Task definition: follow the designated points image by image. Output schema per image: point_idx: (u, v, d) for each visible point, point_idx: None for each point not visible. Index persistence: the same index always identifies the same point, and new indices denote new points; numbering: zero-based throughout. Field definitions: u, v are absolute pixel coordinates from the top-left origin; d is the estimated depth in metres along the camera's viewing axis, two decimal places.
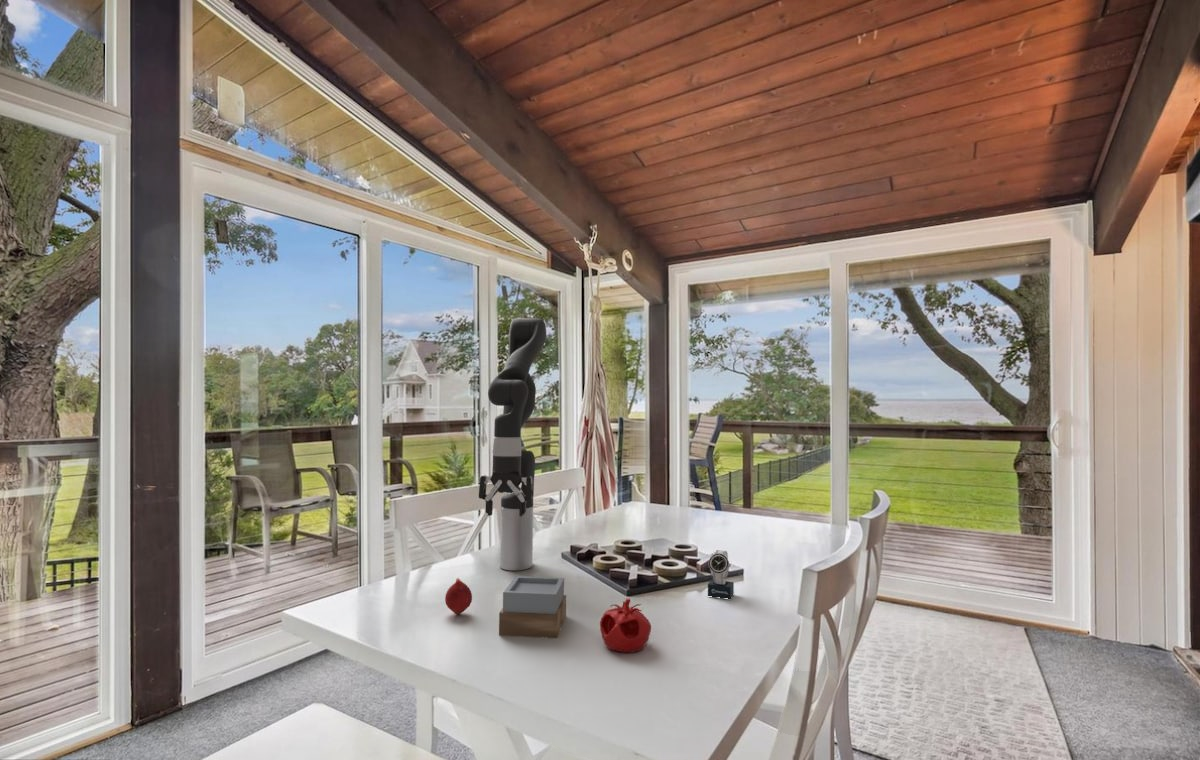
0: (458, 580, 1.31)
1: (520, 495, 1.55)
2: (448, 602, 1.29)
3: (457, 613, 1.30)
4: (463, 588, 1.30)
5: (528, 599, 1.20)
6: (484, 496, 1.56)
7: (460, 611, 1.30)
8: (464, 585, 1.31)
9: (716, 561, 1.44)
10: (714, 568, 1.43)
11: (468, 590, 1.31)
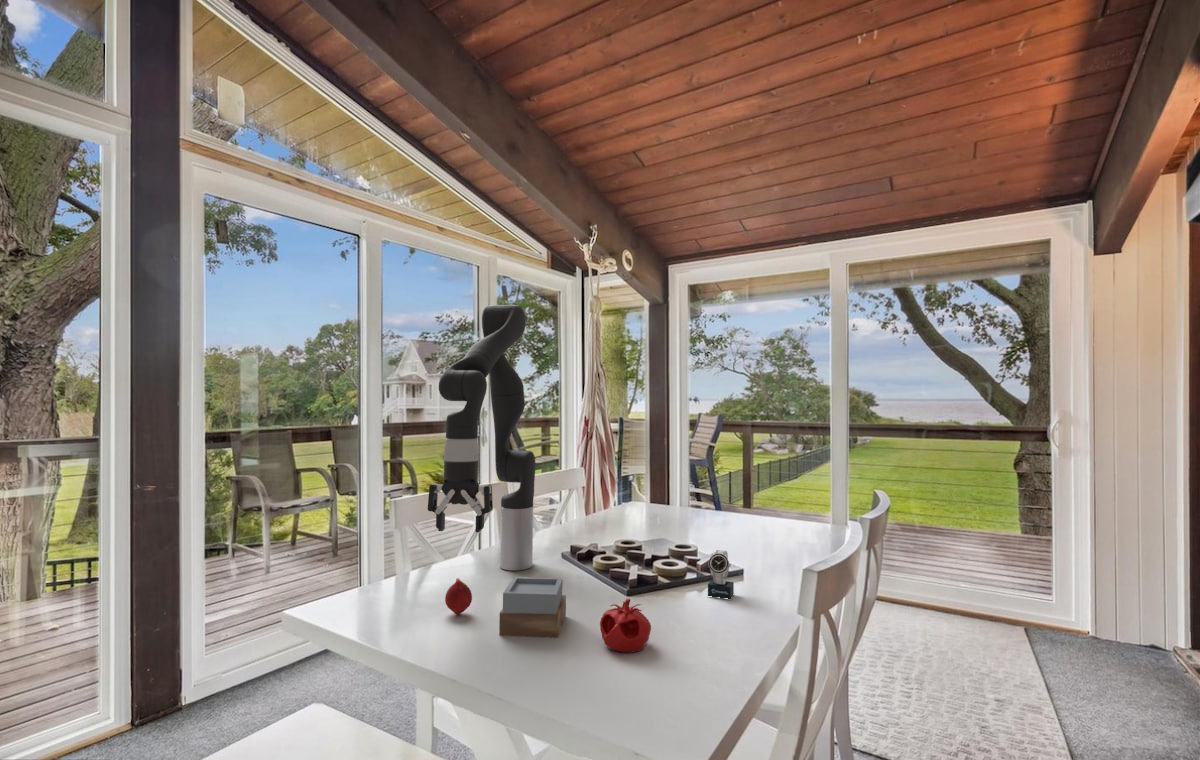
0: (458, 580, 1.31)
1: (476, 507, 1.30)
2: (448, 602, 1.29)
3: (457, 613, 1.30)
4: (463, 588, 1.30)
5: (528, 599, 1.20)
6: (434, 508, 1.32)
7: (460, 611, 1.30)
8: (464, 585, 1.31)
9: (716, 561, 1.44)
10: (714, 568, 1.43)
11: (468, 590, 1.31)
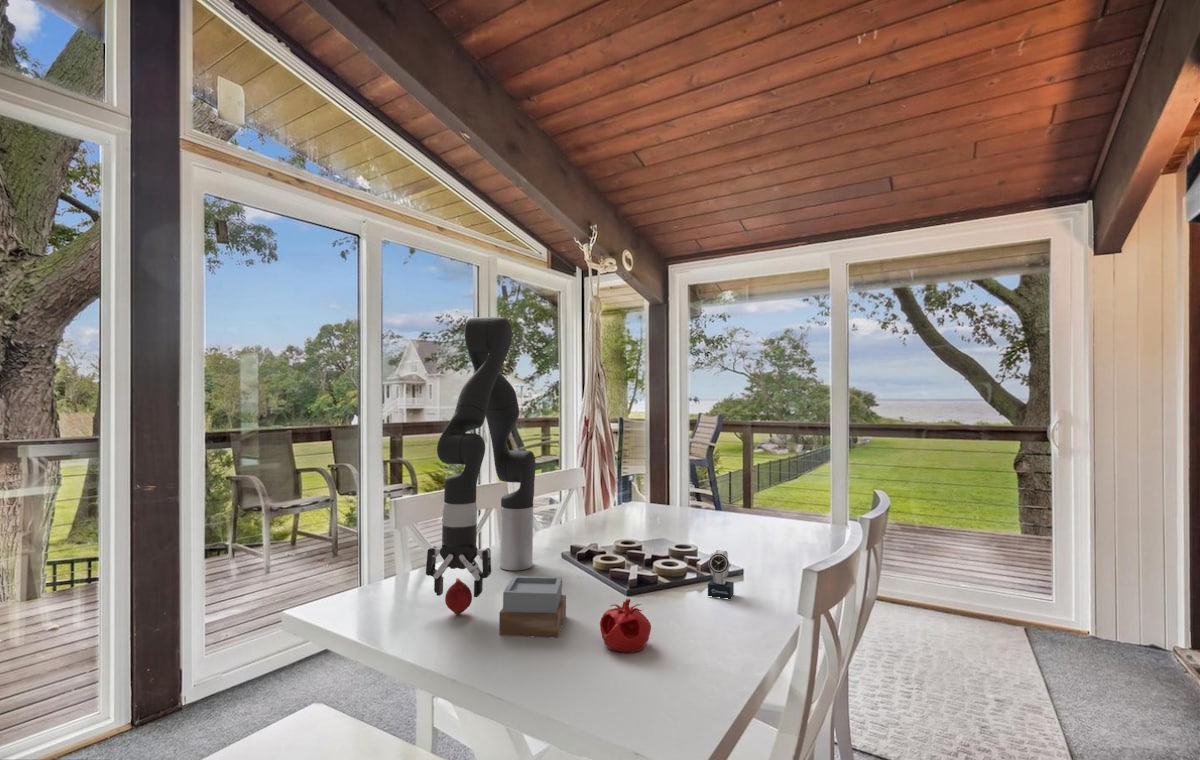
0: (458, 580, 1.31)
1: (475, 572, 1.30)
2: (448, 602, 1.29)
3: (457, 613, 1.30)
4: (463, 588, 1.30)
5: (528, 598, 1.20)
6: (432, 572, 1.31)
7: (460, 611, 1.30)
8: (464, 585, 1.31)
9: (716, 561, 1.44)
10: (714, 568, 1.43)
11: (468, 590, 1.31)
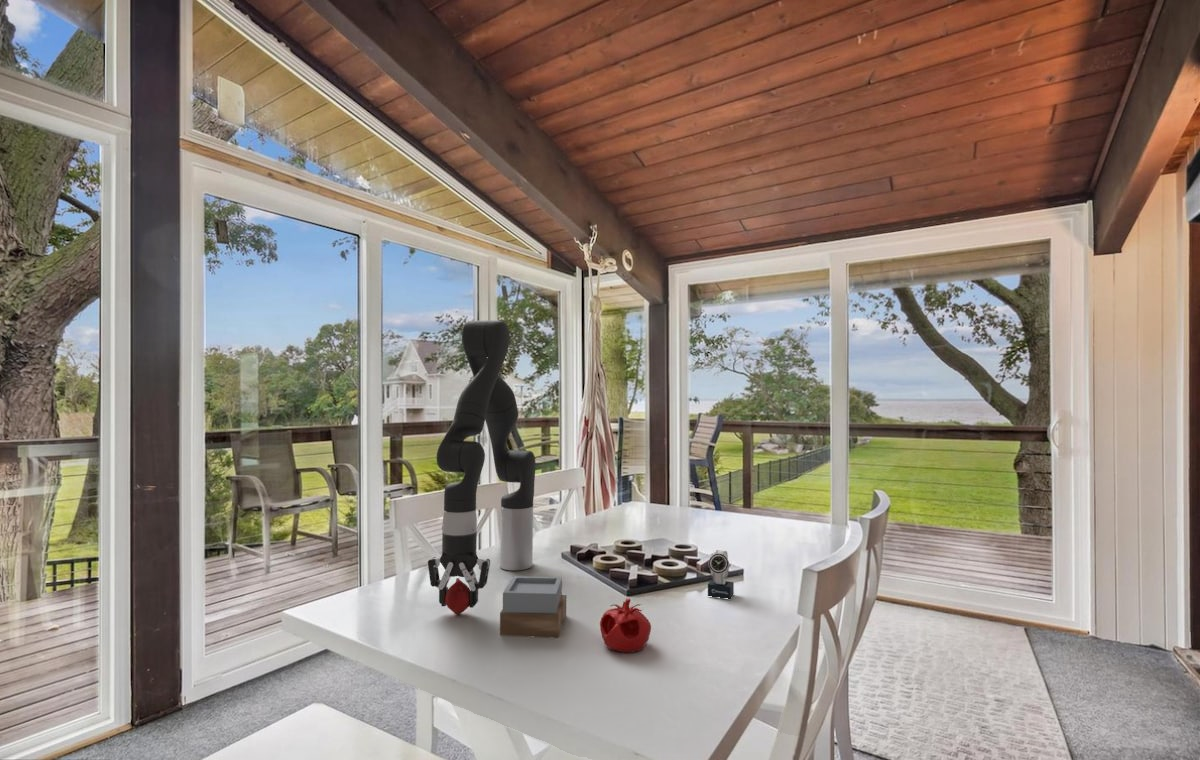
0: (458, 580, 1.31)
1: (471, 582, 1.30)
2: (448, 602, 1.29)
3: (457, 613, 1.30)
4: (463, 588, 1.30)
5: (528, 599, 1.20)
6: (437, 583, 1.31)
7: (460, 611, 1.30)
8: (464, 585, 1.31)
9: (716, 561, 1.44)
10: (714, 568, 1.43)
11: (468, 590, 1.31)
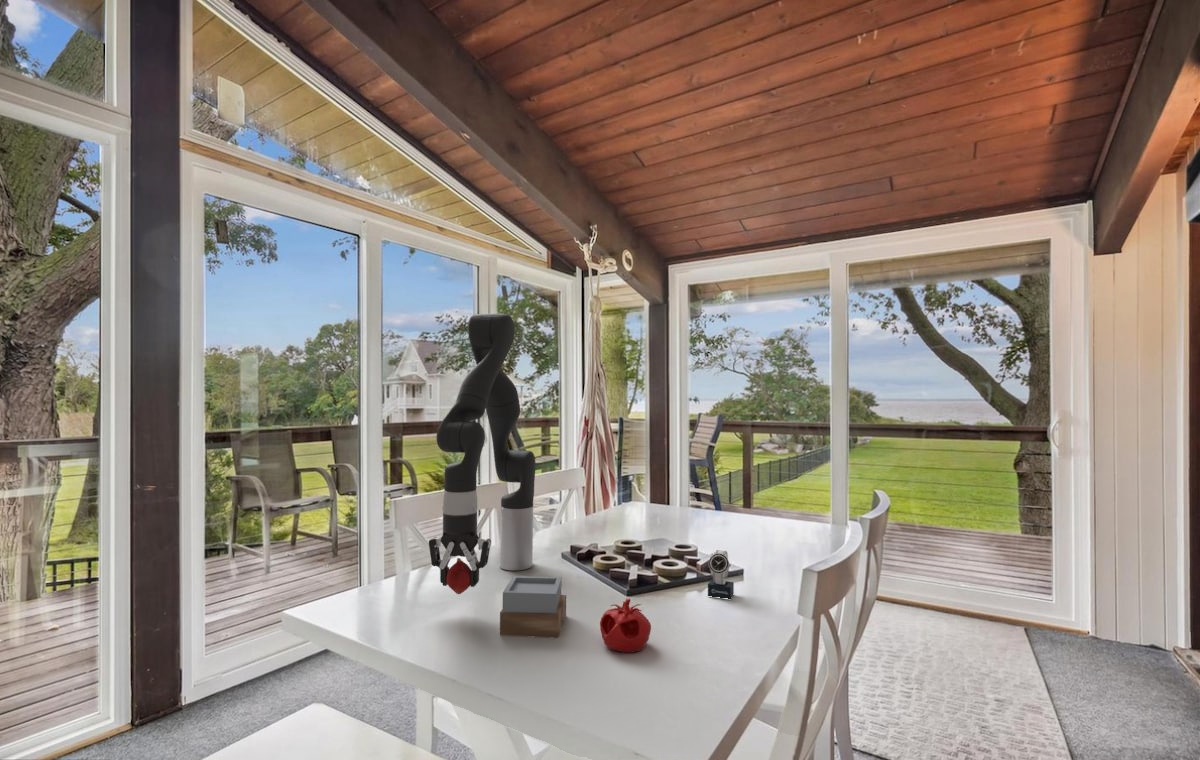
0: (459, 560, 1.32)
1: (472, 562, 1.30)
2: (449, 581, 1.29)
3: (458, 592, 1.31)
4: (464, 568, 1.31)
5: (528, 598, 1.20)
6: (438, 563, 1.32)
7: (461, 590, 1.30)
8: (465, 565, 1.31)
9: (716, 561, 1.44)
10: (714, 568, 1.43)
11: (469, 570, 1.31)
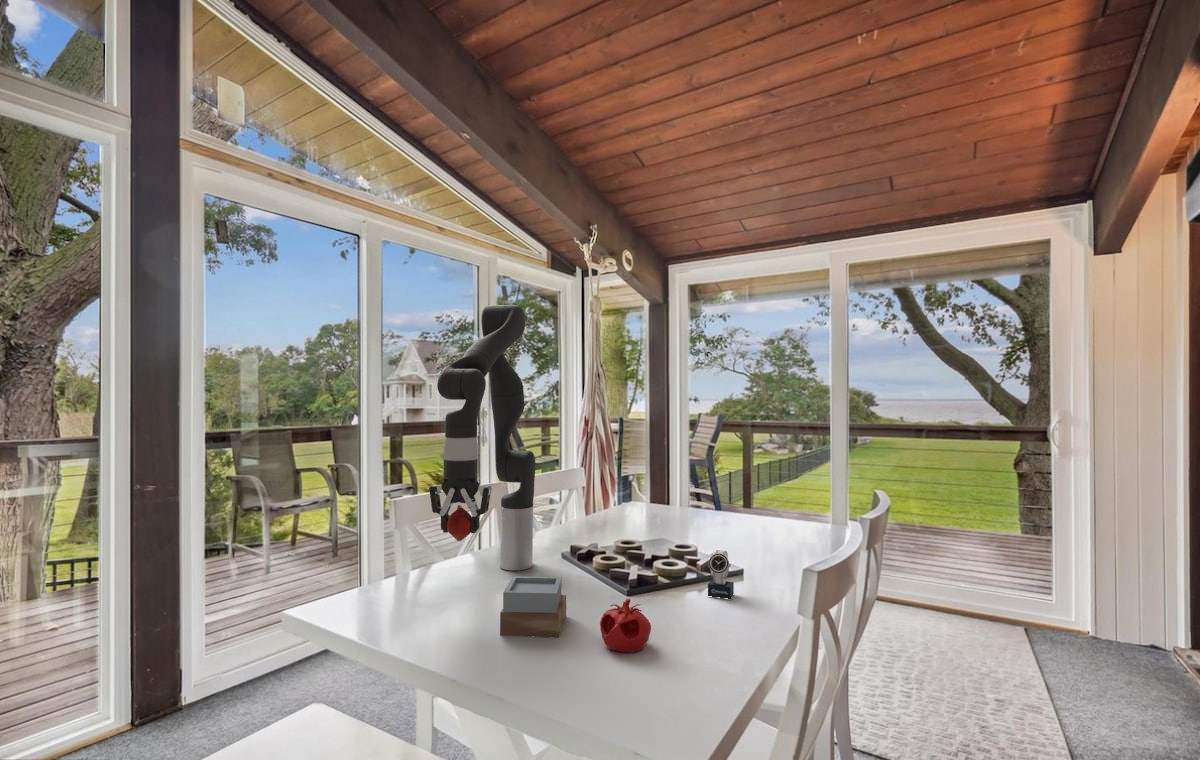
0: (459, 507, 1.32)
1: (473, 508, 1.30)
2: (450, 527, 1.30)
3: (459, 539, 1.31)
4: (464, 514, 1.31)
5: (529, 598, 1.20)
6: (439, 510, 1.32)
7: (462, 537, 1.30)
8: (465, 512, 1.32)
9: (716, 561, 1.44)
10: (714, 568, 1.43)
11: (469, 516, 1.31)
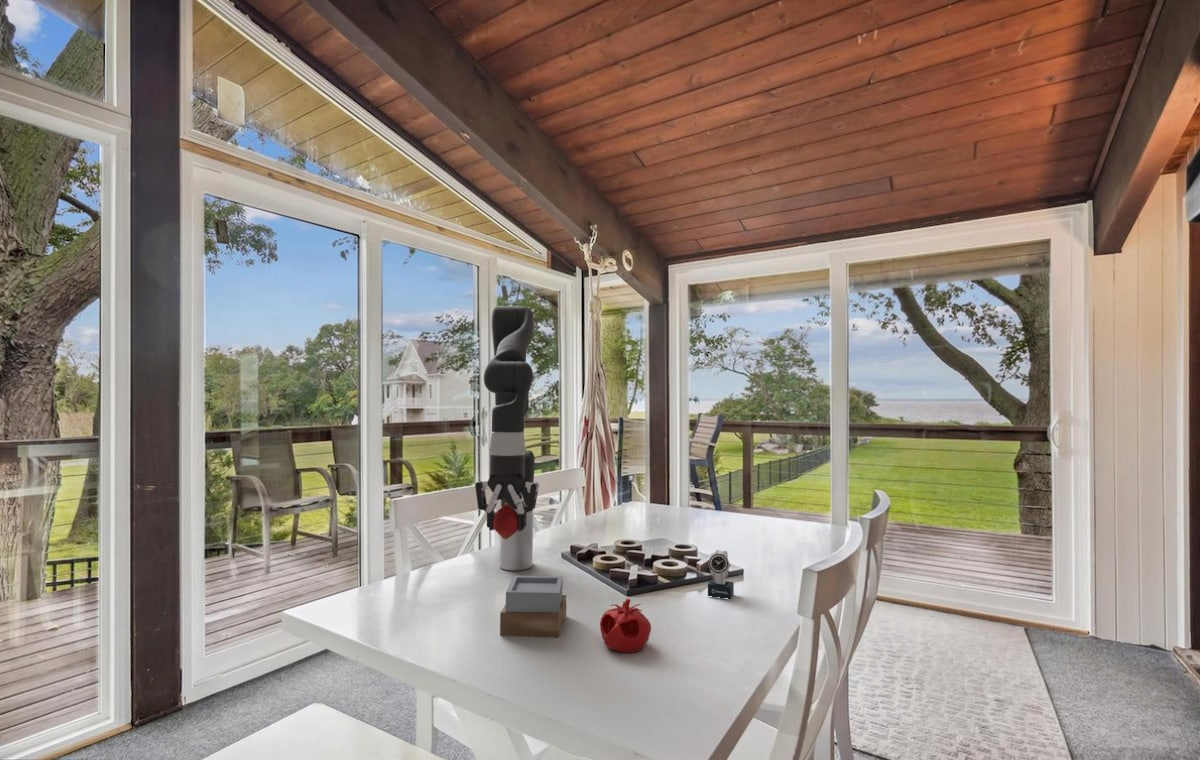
0: (506, 503, 1.28)
1: (520, 505, 1.26)
2: (496, 525, 1.25)
3: (505, 537, 1.27)
4: (511, 511, 1.27)
5: (531, 598, 1.21)
6: (485, 507, 1.28)
7: (508, 535, 1.26)
8: (512, 509, 1.27)
9: (716, 561, 1.44)
10: (714, 568, 1.43)
11: (516, 514, 1.27)
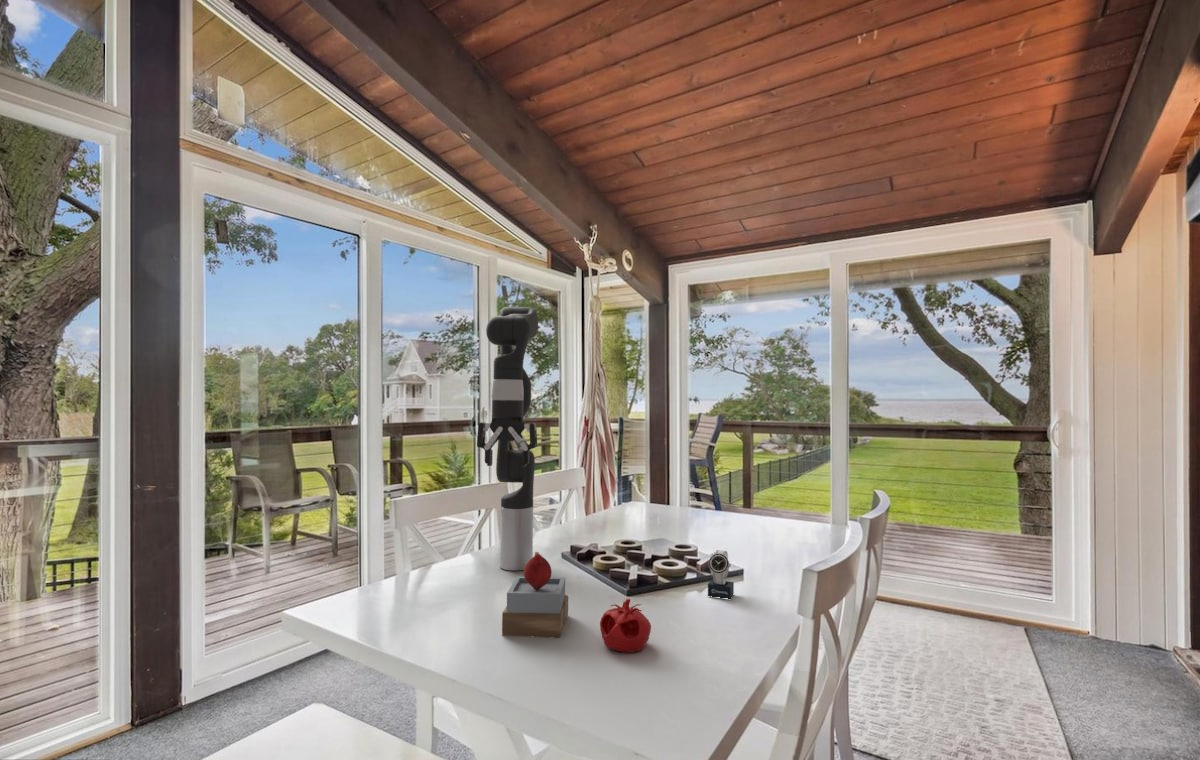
0: (537, 554, 1.25)
1: (523, 443, 1.40)
2: (528, 576, 1.23)
3: (537, 588, 1.25)
4: (543, 562, 1.25)
5: (532, 599, 1.20)
6: (483, 445, 1.41)
7: (540, 586, 1.24)
8: (543, 559, 1.25)
9: (716, 561, 1.44)
10: (714, 568, 1.43)
11: (548, 564, 1.25)
